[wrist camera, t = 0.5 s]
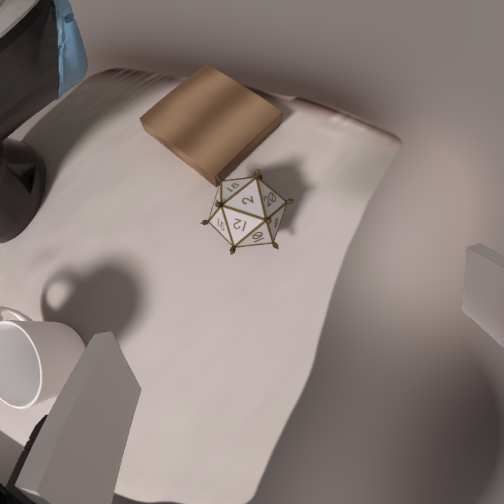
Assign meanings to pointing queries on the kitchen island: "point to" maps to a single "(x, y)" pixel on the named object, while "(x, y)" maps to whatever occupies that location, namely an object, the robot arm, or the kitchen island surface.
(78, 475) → the robot arm
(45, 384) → the mug
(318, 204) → the kitchen island surface
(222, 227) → the game die
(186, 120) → the pedestal
